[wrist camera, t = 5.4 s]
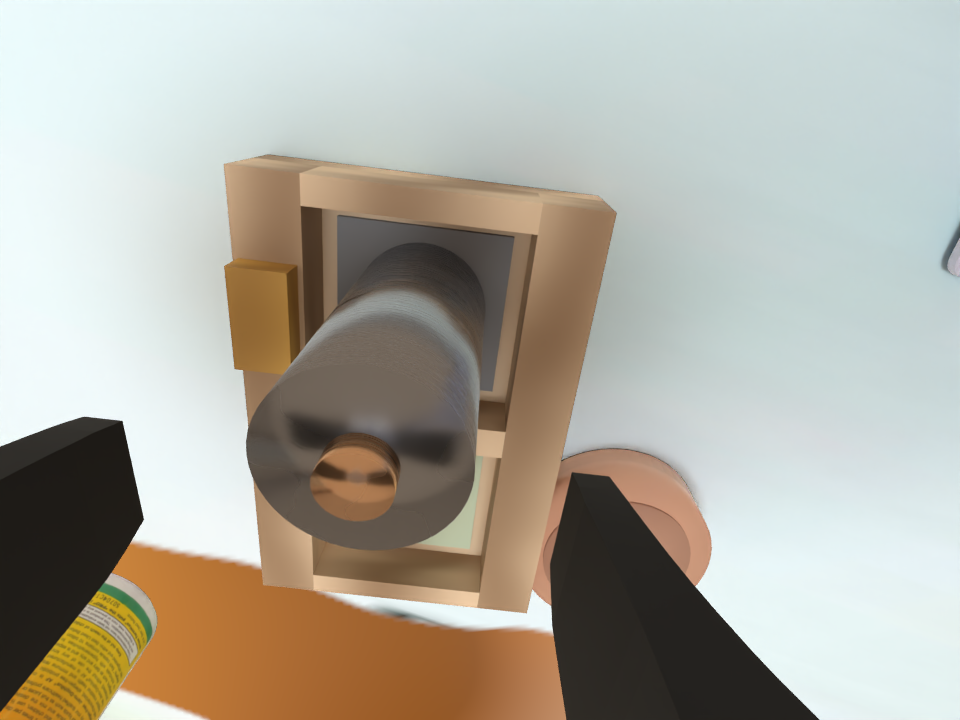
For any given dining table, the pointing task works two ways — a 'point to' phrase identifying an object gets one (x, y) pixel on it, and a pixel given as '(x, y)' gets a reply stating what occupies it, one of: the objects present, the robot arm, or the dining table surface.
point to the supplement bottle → (89, 657)
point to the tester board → (505, 356)
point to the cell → (379, 407)
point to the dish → (636, 509)
